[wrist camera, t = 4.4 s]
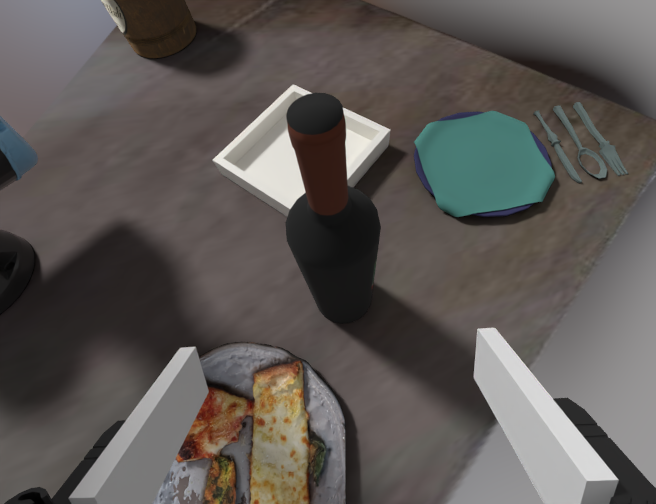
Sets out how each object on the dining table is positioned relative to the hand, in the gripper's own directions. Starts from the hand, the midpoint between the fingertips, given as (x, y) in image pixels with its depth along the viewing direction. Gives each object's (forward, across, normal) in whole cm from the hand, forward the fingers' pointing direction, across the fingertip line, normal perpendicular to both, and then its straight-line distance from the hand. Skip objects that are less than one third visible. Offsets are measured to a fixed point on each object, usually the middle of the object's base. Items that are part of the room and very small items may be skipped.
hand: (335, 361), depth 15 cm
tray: (+42, -5, +7) cm, 43 cm away
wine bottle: (+26, 0, -10) cm, 28 cm away
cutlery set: (+40, +27, +3) cm, 48 cm away
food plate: (+13, -13, -23) cm, 30 cm away
